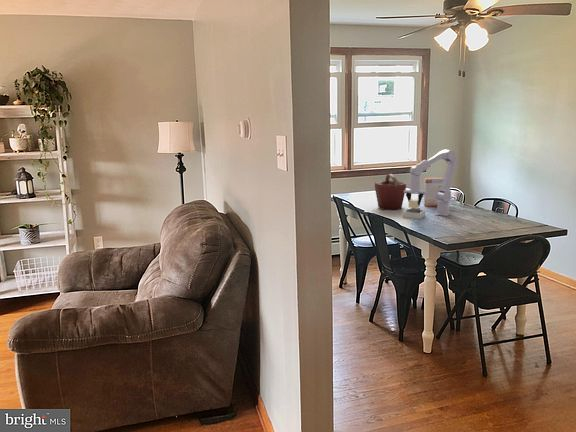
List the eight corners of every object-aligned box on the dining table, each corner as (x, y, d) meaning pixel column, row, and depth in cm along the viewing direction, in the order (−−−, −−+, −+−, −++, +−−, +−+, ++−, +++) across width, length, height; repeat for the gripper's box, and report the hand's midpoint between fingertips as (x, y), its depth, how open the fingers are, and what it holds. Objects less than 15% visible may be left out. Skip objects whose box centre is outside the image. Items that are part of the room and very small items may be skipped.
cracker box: (442, 204, 358) (443, 177, 353) (444, 206, 352) (445, 178, 347) (423, 204, 359) (424, 177, 354) (424, 206, 353) (425, 178, 349)
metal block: (411, 214, 324) (411, 207, 323) (419, 215, 322) (420, 207, 321) (408, 216, 318) (408, 209, 317) (416, 217, 315) (416, 210, 314)
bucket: (405, 211, 337) (406, 176, 332) (374, 210, 342) (374, 176, 336) (404, 204, 361) (405, 172, 355) (374, 204, 365) (375, 172, 360)
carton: (411, 205, 323) (412, 198, 322) (420, 206, 320) (420, 198, 319) (408, 207, 316) (408, 200, 315) (416, 208, 314) (417, 200, 313)
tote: (407, 214, 328) (407, 208, 327) (425, 215, 322) (425, 210, 321) (402, 217, 318) (402, 211, 317) (420, 219, 312) (420, 213, 311)
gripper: (402, 184, 315) (402, 204, 318) (424, 185, 308) (423, 206, 311) (405, 183, 321) (405, 202, 324) (427, 184, 314) (426, 204, 317)
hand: (414, 204), depth 318 cm, fingers open, 6 cm apart
